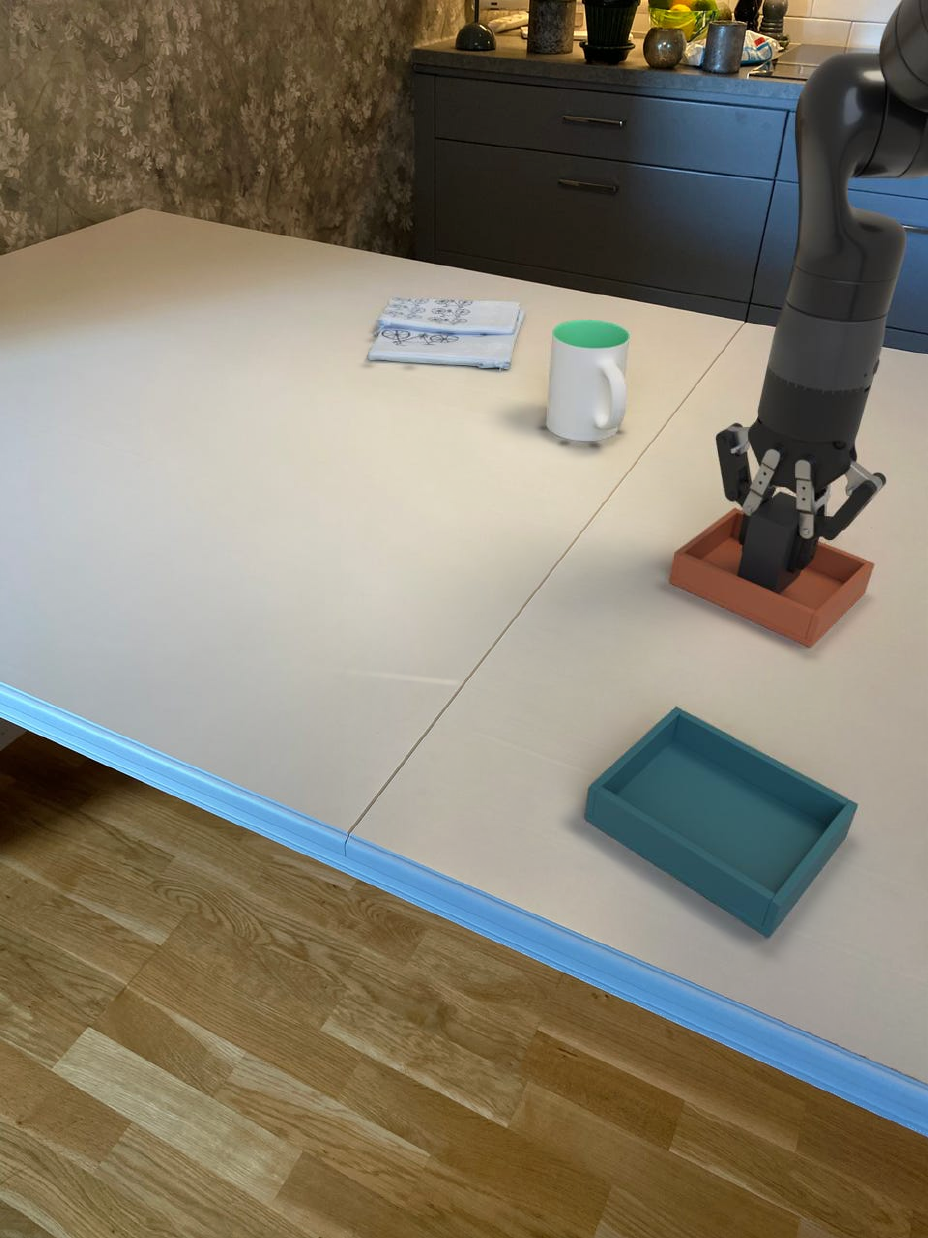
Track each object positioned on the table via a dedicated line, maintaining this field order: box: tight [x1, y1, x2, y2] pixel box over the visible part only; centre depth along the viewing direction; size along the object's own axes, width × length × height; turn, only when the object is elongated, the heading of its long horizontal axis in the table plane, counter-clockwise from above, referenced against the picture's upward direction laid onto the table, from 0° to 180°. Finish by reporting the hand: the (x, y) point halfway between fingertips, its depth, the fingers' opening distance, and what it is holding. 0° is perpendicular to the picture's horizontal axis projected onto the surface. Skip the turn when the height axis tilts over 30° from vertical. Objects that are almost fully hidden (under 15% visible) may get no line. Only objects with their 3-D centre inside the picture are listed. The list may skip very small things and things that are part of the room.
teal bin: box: [583, 706, 859, 939], centre depth 62 cm, size 13×10×3 cm
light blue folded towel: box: [367, 297, 526, 372], centre depth 128 cm, size 19×20×2 cm
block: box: [737, 490, 801, 594], centre depth 81 cm, size 4×5×7 cm
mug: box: [545, 319, 631, 442], centre depth 104 cm, size 12×8×10 cm, turn 22°
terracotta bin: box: [668, 507, 875, 648], centre depth 83 cm, size 13×10×3 cm
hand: (773, 558), depth 82 cm, fingers closed on block, 3 cm apart
